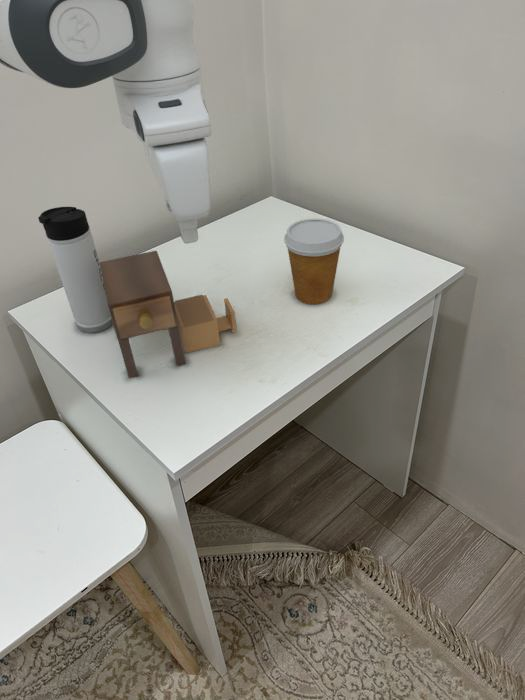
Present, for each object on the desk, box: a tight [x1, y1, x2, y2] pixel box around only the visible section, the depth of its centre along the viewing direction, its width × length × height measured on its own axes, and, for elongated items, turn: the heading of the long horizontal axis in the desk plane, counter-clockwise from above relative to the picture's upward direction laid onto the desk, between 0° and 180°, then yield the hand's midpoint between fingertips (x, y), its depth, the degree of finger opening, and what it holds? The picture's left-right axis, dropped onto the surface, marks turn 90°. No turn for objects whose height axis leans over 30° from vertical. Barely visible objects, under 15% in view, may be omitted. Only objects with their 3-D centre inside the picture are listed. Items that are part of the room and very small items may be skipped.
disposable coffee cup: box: [283, 218, 345, 305], centre depth 90 cm, size 10×10×12 cm
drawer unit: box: [99, 250, 187, 379], centre depth 80 cm, size 8×14×13 cm, turn 18°
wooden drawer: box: [174, 294, 237, 354], centre depth 85 cm, size 9×7×5 cm
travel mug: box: [37, 206, 113, 334], centre depth 84 cm, size 6×7×20 cm
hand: (181, 223), depth 65 cm, fingers open, 8 cm apart
